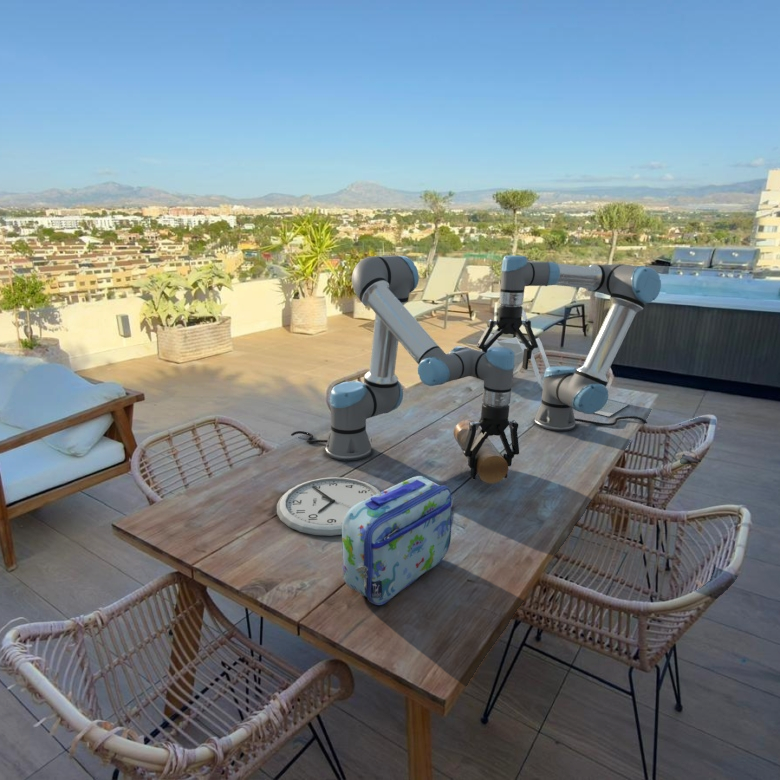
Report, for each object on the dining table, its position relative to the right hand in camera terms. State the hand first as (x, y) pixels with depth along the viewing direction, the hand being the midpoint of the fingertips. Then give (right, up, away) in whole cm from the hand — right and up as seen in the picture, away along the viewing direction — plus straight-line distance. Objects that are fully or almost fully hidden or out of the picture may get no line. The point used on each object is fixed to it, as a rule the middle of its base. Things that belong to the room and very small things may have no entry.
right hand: (505, 369), depth 174 cm
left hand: (-10, -32, -22) cm, 40 cm away
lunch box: (-37, -48, -60) cm, 85 cm away
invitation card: (+53, -14, +52) cm, 76 cm away
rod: (-11, -29, -12) cm, 34 cm away
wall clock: (-54, -39, -31) cm, 74 cm away
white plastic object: (+20, -4, +84) cm, 86 cm away
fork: (-25, -40, -36) cm, 59 cm away
